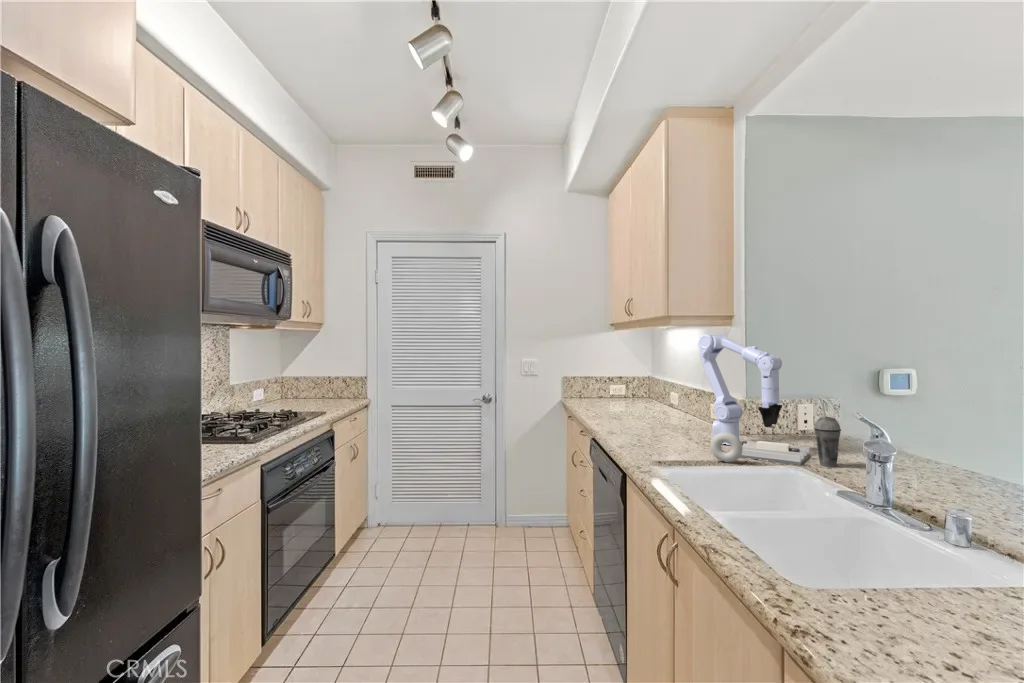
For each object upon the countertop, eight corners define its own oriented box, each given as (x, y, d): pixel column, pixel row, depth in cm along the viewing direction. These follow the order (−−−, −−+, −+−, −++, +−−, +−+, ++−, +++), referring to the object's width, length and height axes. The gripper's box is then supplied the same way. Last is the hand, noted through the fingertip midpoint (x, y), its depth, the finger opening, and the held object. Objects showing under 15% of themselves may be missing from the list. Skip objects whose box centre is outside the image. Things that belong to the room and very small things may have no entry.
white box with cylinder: (756, 452, 172) (756, 442, 172) (758, 450, 174) (758, 440, 174) (798, 457, 163) (798, 446, 164) (800, 455, 166) (800, 445, 166)
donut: (743, 463, 161) (743, 432, 161) (741, 465, 158) (741, 434, 158) (712, 459, 167) (711, 430, 167) (709, 461, 164) (708, 431, 164)
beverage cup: (846, 468, 152) (844, 404, 152) (820, 467, 153) (819, 404, 154) (835, 463, 159) (834, 401, 159) (811, 462, 160) (809, 401, 161)
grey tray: (734, 457, 170) (734, 449, 170) (747, 448, 183) (747, 440, 183) (800, 465, 157) (800, 456, 157) (809, 455, 170) (809, 447, 170)
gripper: (777, 390, 170) (778, 429, 170) (786, 387, 181) (787, 424, 181) (755, 389, 175) (756, 427, 174) (766, 386, 186) (766, 422, 185)
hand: (770, 425), depth 178 cm, fingers open, 7 cm apart
